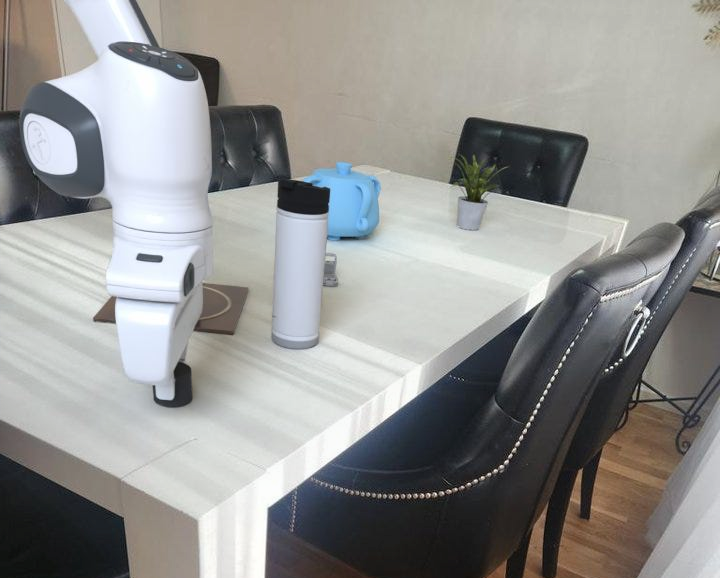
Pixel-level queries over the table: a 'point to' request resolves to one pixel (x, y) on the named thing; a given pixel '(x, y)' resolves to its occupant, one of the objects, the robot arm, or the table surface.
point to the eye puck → (179, 387)
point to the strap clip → (330, 271)
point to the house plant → (473, 195)
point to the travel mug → (299, 263)
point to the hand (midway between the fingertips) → (172, 385)
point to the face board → (217, 308)
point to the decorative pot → (349, 200)
